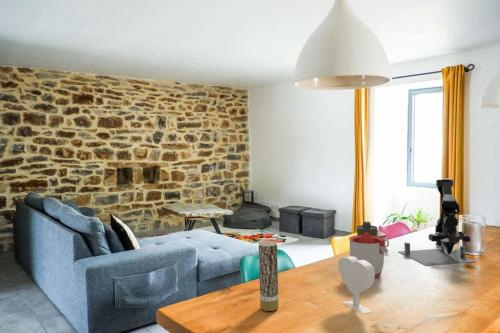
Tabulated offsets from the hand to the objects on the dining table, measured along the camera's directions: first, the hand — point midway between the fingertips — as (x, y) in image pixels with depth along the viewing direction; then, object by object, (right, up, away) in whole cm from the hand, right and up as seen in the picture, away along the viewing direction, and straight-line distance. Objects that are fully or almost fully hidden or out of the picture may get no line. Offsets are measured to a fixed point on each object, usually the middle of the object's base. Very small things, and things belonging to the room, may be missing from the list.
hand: (448, 254), depth 205 cm
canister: (-41, -4, +3) cm, 41 cm away
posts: (-4, -2, +6) cm, 8 cm away
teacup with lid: (-29, -3, +21) cm, 36 cm away
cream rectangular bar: (+3, -2, +3) cm, 4 cm away
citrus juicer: (-48, -5, -22) cm, 52 cm away
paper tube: (-95, -8, -56) cm, 110 cm away
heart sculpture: (-62, -7, -56) cm, 84 cm away
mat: (-5, -2, +5) cm, 7 cm away
